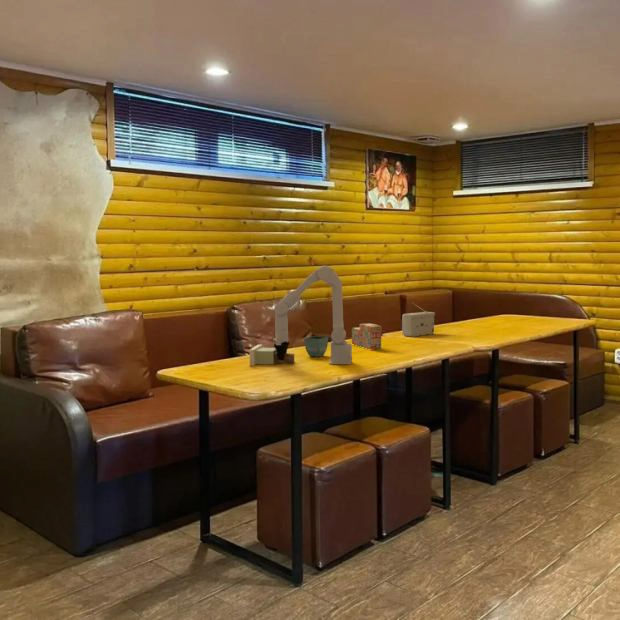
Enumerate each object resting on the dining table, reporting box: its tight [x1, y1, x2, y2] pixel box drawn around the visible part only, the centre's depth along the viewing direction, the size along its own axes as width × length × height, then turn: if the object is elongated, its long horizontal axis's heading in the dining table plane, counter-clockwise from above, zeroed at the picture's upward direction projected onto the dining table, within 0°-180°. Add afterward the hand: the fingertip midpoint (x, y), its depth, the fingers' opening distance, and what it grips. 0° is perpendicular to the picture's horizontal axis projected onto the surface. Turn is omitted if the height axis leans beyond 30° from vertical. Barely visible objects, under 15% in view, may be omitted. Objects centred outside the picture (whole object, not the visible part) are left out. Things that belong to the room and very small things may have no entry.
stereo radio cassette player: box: [401, 302, 436, 338], centre depth 390 cm, size 21×8×20 cm, turn 129°
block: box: [256, 347, 277, 365], centre depth 302 cm, size 8×10×6 cm
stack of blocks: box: [351, 323, 382, 350], centre depth 346 cm, size 21×6×12 cm, turn 23°
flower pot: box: [303, 335, 329, 358], centre depth 318 cm, size 9×9×9 cm
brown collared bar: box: [273, 352, 295, 365], centre depth 301 cm, size 13×7×5 cm, turn 81°
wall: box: [249, 344, 263, 366], centre depth 303 cm, size 2×16×7 cm, turn 170°
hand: (282, 358), depth 301 cm, fingers closed on brown collared bar, 4 cm apart
